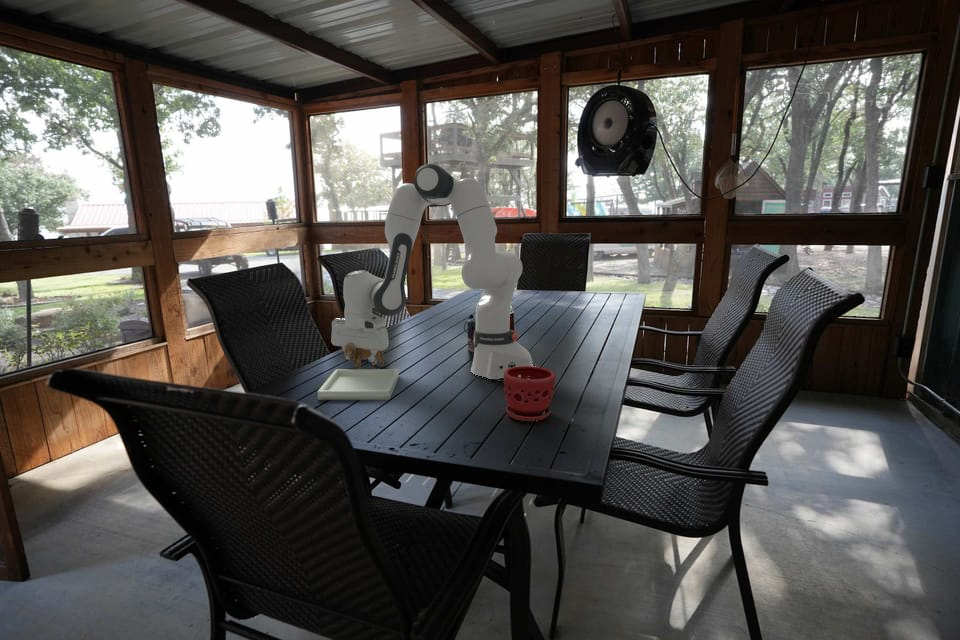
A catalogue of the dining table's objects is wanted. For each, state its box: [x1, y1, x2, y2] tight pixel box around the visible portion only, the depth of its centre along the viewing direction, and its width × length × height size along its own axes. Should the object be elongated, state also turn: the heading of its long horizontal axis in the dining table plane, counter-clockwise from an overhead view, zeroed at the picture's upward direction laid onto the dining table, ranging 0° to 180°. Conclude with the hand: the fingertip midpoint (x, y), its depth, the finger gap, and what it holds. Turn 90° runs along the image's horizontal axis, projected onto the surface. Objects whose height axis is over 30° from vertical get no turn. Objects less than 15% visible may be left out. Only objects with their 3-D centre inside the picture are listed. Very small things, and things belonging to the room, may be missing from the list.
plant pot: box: [503, 366, 556, 421], centre depth 134 cm, size 13×13×12 cm
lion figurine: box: [343, 343, 389, 369], centre depth 173 cm, size 15×5×9 cm, turn 117°
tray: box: [317, 368, 400, 401], centre depth 155 cm, size 20×20×2 cm
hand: (360, 360), depth 173 cm, fingers closed on lion figurine, 7 cm apart
